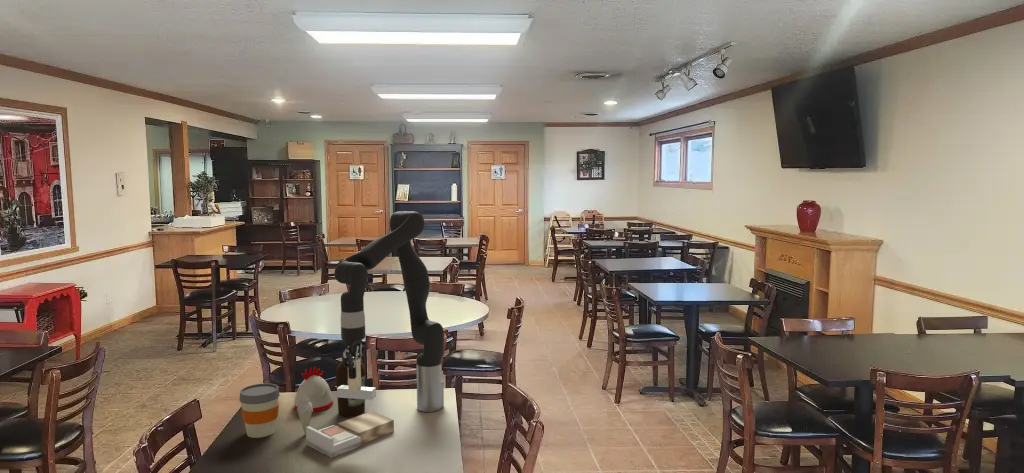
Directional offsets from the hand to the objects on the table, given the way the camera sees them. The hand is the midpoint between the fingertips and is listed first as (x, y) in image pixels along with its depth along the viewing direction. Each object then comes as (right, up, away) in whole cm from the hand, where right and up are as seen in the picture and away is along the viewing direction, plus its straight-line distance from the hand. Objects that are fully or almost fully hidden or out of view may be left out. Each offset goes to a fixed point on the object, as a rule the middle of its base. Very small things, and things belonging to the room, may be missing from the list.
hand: (354, 376), depth 196 cm
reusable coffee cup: (-35, -22, +11) cm, 42 cm away
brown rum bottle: (-8, -20, +28) cm, 36 cm away
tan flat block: (+1, -22, +11) cm, 24 cm away
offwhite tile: (-4, -21, 0) cm, 22 cm away
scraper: (0, -7, +2) cm, 7 cm away
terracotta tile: (-8, -21, +4) cm, 23 cm away
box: (-7, -23, +1) cm, 24 cm away
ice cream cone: (-19, -22, +10) cm, 31 cm away
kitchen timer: (-25, -19, +35) cm, 47 cm away
